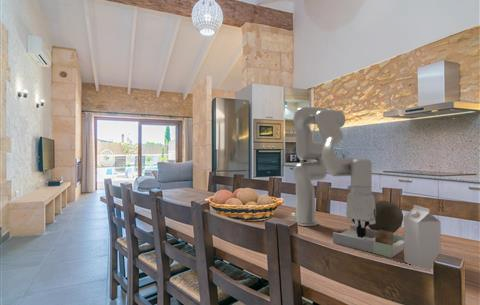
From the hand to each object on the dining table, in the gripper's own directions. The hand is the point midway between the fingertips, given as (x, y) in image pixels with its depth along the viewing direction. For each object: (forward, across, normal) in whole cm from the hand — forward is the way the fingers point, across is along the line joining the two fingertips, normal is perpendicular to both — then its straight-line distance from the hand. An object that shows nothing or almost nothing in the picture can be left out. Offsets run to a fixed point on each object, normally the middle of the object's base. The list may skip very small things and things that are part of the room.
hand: (361, 236), depth 106 cm
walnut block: (+1, +8, 0) cm, 9 cm away
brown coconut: (+4, +1, +21) cm, 21 cm away
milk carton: (+4, +22, -5) cm, 23 cm away
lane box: (+3, +2, +3) cm, 5 cm away
